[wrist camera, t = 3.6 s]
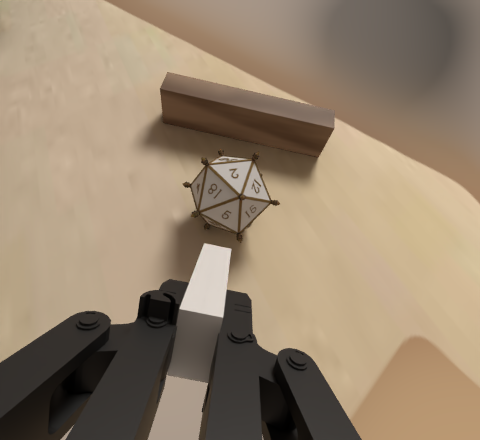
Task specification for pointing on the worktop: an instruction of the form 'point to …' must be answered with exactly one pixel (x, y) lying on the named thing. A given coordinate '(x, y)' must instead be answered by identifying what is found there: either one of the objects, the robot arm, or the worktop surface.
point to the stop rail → (245, 115)
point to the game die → (230, 193)
